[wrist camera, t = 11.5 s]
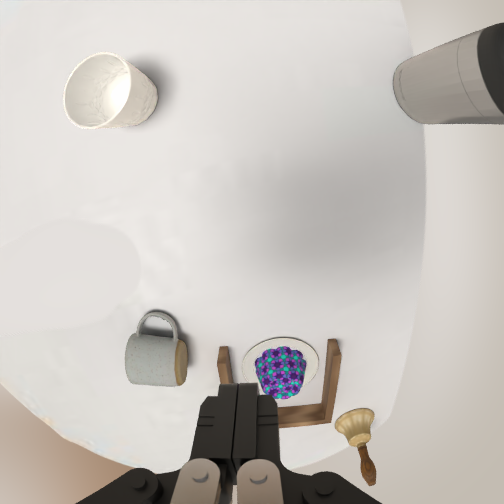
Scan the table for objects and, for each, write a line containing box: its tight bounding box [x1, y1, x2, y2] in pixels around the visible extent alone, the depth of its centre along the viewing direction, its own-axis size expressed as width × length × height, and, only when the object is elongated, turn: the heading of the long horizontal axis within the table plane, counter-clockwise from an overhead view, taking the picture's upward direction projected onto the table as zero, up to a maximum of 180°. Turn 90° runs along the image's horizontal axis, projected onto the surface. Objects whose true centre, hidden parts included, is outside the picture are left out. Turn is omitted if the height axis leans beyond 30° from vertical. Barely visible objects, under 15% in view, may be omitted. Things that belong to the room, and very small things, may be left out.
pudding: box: [242, 338, 319, 399], centre depth 43 cm, size 12×12×5 cm
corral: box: [217, 339, 342, 428], centre depth 44 cm, size 17×16×4 cm
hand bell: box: [335, 408, 376, 486], centre depth 43 cm, size 8×8×16 cm
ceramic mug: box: [125, 312, 188, 387], centre depth 40 cm, size 11×8×8 cm
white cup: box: [63, 52, 158, 129], centre depth 27 cm, size 8×8×10 cm
